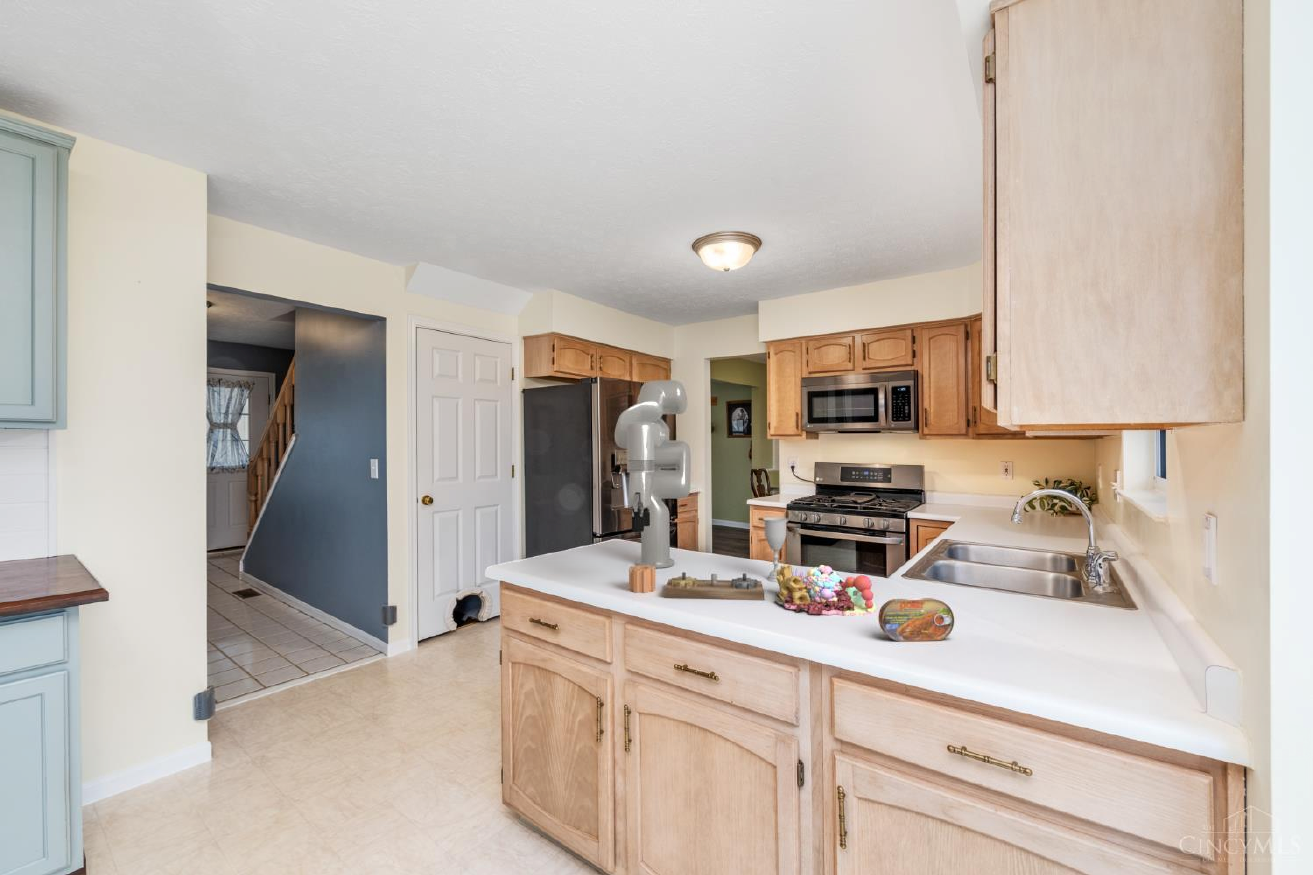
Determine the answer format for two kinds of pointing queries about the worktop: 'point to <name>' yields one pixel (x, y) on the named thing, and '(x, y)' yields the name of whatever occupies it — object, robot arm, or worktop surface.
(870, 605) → the coral reef model
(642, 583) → the gear
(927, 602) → the tin
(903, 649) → the worktop surface
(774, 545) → the chalice
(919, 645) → the worktop surface
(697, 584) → the gear board
